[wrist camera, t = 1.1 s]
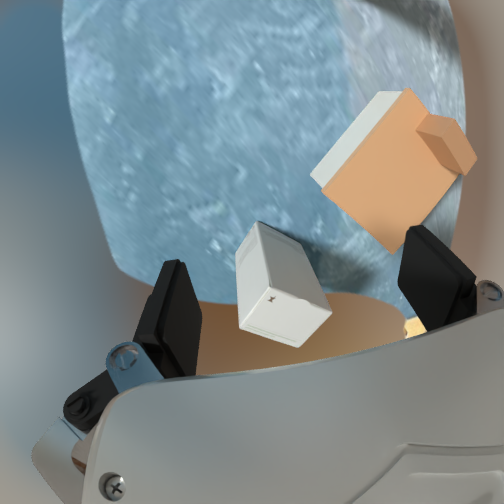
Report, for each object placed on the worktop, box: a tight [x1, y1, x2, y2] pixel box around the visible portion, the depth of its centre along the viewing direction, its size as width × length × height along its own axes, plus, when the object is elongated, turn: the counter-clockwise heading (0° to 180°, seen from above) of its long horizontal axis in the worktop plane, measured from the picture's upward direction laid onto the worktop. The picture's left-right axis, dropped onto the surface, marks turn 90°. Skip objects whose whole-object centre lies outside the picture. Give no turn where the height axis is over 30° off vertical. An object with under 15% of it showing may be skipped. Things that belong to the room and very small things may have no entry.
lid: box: [321, 88, 477, 255], centre depth 26 cm, size 17×14×7 cm
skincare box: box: [235, 221, 332, 348], centre depth 34 cm, size 8×7×16 cm
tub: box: [310, 91, 403, 188], centre depth 31 cm, size 16×13×7 cm
